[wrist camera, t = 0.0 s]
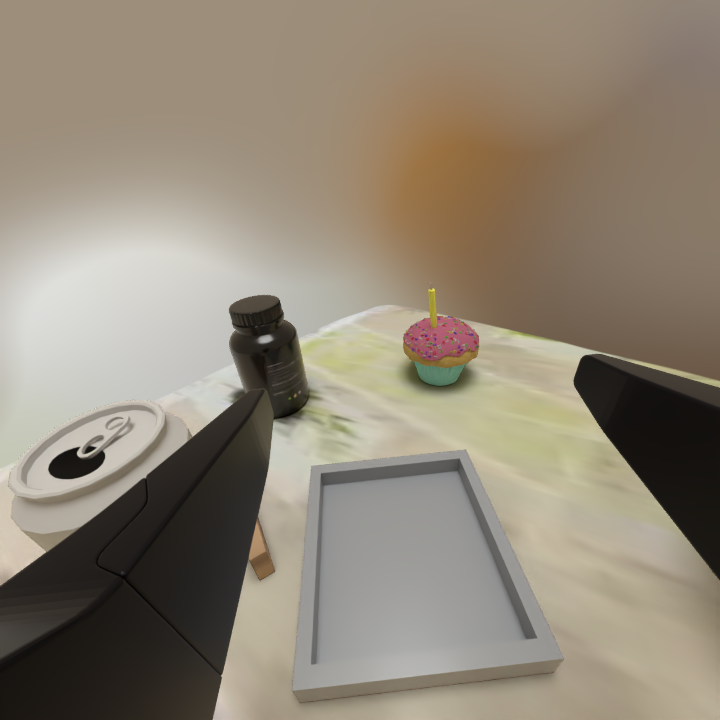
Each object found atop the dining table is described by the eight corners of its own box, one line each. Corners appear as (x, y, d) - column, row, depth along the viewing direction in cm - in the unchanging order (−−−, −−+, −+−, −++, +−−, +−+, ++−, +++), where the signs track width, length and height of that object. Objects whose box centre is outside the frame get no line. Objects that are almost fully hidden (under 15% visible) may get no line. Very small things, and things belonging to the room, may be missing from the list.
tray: (553, 672, 15) (564, 658, 14) (299, 702, 15) (292, 690, 14) (463, 466, 26) (465, 449, 25) (315, 482, 26) (311, 466, 25)
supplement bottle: (239, 404, 36) (203, 307, 29) (286, 376, 40) (263, 286, 34) (274, 429, 32) (241, 323, 25) (322, 395, 36) (304, 297, 30)
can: (93, 603, 19) (-56, 481, 13) (186, 499, 25) (114, 381, 19) (181, 654, 17) (50, 534, 11) (262, 526, 23) (208, 401, 17)
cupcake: (443, 406, 33) (451, 298, 26) (388, 374, 38) (385, 280, 32) (489, 374, 37) (506, 274, 31) (433, 349, 43) (438, 262, 37)
